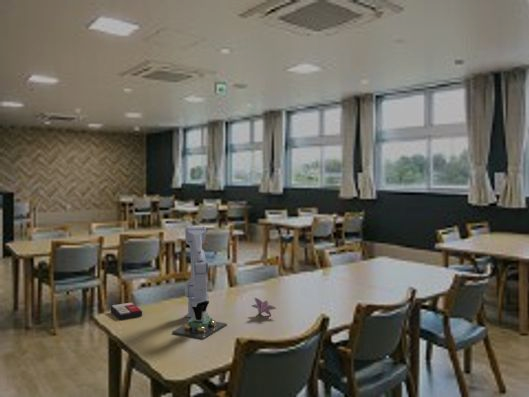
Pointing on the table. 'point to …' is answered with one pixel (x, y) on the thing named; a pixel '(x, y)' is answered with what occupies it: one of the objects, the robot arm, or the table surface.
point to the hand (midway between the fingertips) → (200, 318)
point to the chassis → (199, 330)
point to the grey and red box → (126, 311)
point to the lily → (263, 307)
